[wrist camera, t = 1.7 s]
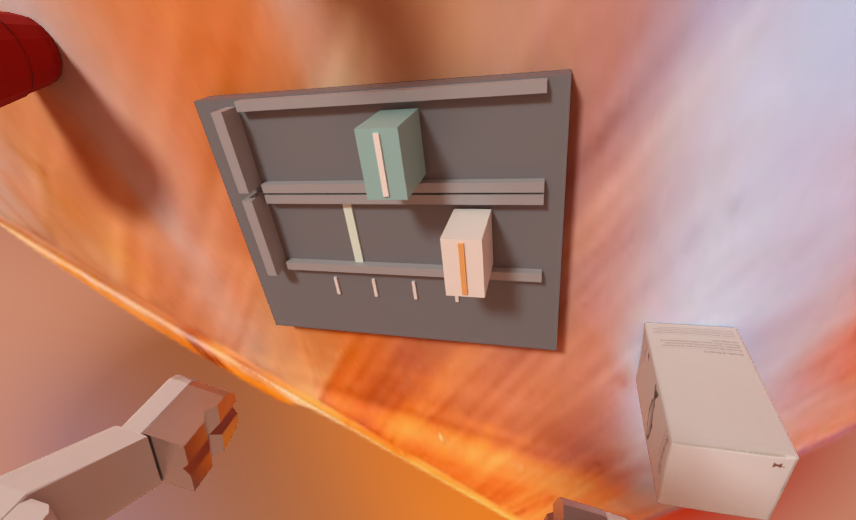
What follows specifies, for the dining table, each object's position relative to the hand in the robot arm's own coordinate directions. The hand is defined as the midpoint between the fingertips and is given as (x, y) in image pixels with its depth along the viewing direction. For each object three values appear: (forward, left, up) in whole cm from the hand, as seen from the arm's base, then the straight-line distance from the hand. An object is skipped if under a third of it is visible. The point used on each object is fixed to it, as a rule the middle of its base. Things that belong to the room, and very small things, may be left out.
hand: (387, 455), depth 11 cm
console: (+11, +8, -28) cm, 31 cm away
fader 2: (+3, +8, -26) cm, 27 cm away
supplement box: (-15, +21, -28) cm, 38 cm away
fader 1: (+8, 0, -25) cm, 27 cm away
